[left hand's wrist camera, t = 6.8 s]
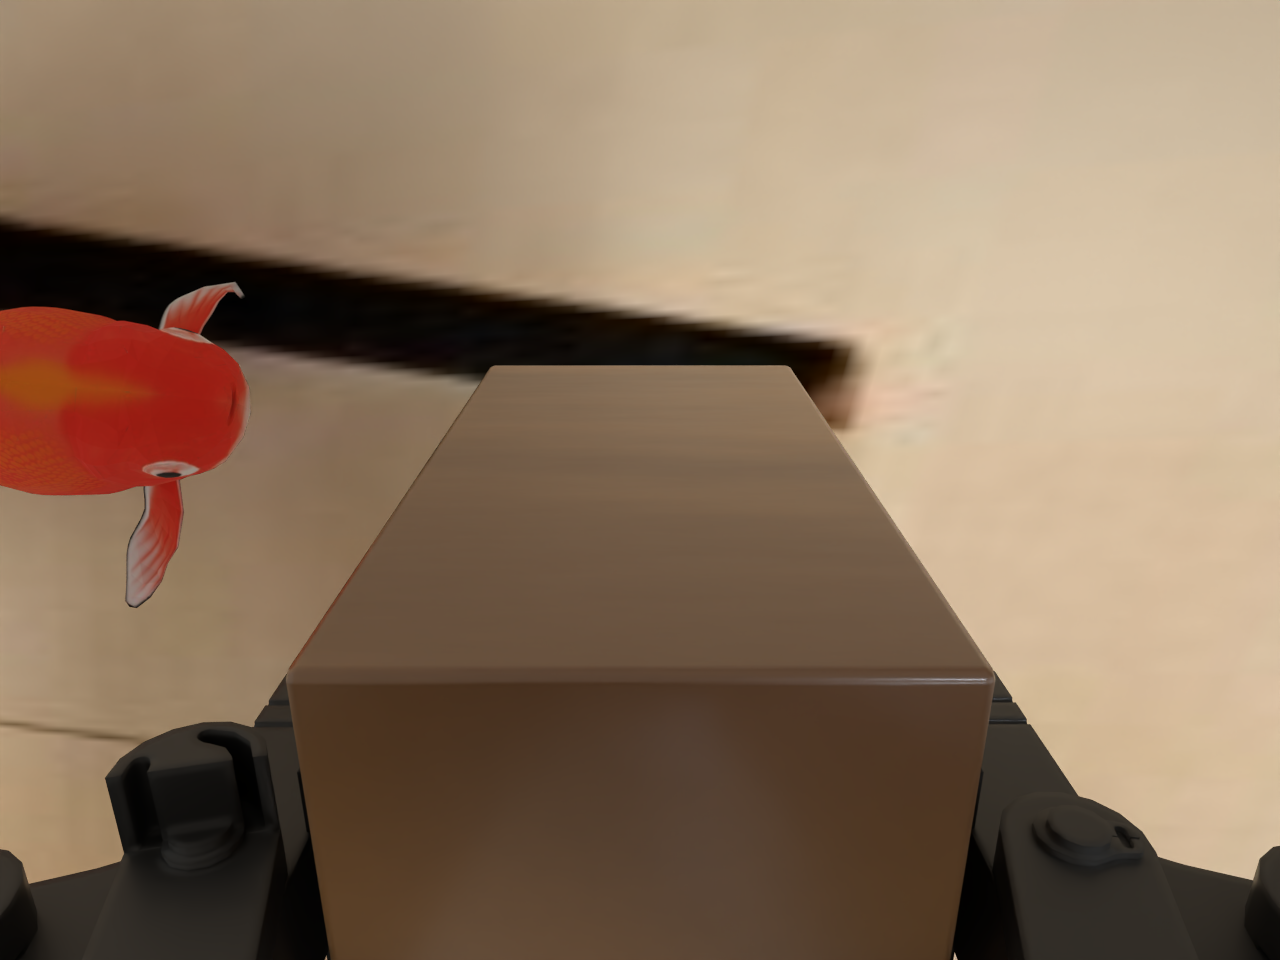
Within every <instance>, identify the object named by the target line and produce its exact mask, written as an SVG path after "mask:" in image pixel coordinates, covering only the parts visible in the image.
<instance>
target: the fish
mask: <svg viewBox="0 0 1280 960" xmlns="http://www.w3.org/2000/svg"><path fill="white" fill-rule="evenodd" d="M227 292H235V293H236V294H237V295H238V296H239V297H240V298H241V299H242V298H245V296H244V294H243V292H242V291H241V289H240V288H239V286H238V285H237V283H236V282H232V283H225V284H219V285H213V286H206V287H203V288H200V289H198V290H196V291H193V292H191V293H188V294H186V295H184V296H181V297H179V298H178V299H176V300H174V301H173V302H171V303H170V304H169V305H168V306H167V307H166V309H165V310H164V312H163V315H162V318H161V320H160V324H159V328H158V329H155V328H153V327H150V326H148V325H143V324H138V323H133V322H128V321H115V320H113V319H111V318H107V317H104V316H101V315H95V314H90V313H84V312H79V311H73V310H68V309H61V308H53V307H21V308H15V309H9V310H3V311H0V485H1V486H5V487H9V488H13V489H16V490H20V491H24V492H28V493H32V494H40V495H94V494H110V493H115V492H120V491H123V490H126V489H129V488H133V487H136V486H144V498H145V509H144V512H143V515H142V517H141V519H140V521H139V523H138V525H137V527H136V528H135V530H134V532H133V534H132V536H131V537H130V541H129V544H128V549H127V581H126V600H125V601H126V603H127V604H128V605H129V607H134V608H138V607H139V606H140V605H141V604H143V603H144V602H145V601H146V600H148V599H149V598H150V597H151V596H152V594H153V593H154V591H155V590H156V589H157V587H158V586H159V584H160V583H161V581H162V579H163V576H164V573H165V570H166V567H167V564H168V562H169V561H170V559H171V557H172V556H173V554H174V553H175V551H176V550H177V548H178V545H179V538H180V532H181V526H182V520H183V514H184V511H183V502H182V494H181V487H180V479H183V478H185V477H188V476H191V475H195V474H200V473H203V472H206V471H208V470H211V469H214V468H215V467H217V466H219V465H220V464H222V463H224V462H225V461H226V460H227V459H228V457H229V456H230V455H231V453H232V452H233V451H234V449H235V448H236V447H237V445H238V444H239V442H240V441H241V440H242V438H243V437H244V434H245V431H246V427H247V424H248V421H249V417H250V414H251V409H250V391H249V386H248V384H247V381H246V379H245V377H244V375H243V373H242V371H241V369H240V367H239V364H238V363H237V362H236V361H235V360H234V359H233V358H232V357H231V356H230V355H229V354H228V353H227V352H226V351H225V350H224V349H222V348H220V347H218V346H217V345H215V344H213V343H211V342H210V341H208V340H207V339H205V338H204V337H202V336H201V335H200V334H201V332H202V329H203V327H204V325H205V324H206V322H207V321H208V319H209V318H210V316H211V315H212V313H213V311H214V310H215V308H216V306H217V304H218V302H219V301H220V300H221V299H222V298H223V297H224V296H225V294H226V293H227Z"/></svg>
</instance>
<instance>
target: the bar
mask: <svg viewBox="0 0 1280 960" xmlns="http://www.w3.org/2000/svg"><path fill="white" fill-rule="evenodd" d="M286 684H287V690H288V697H289V703H290V709H291V715H292V722H293V728H294V734H295V740H296V747H297V753H298V759H299V765H300V771H301V778H302V784H303V790H304V796H305V803H306V809H307V815H308V821H309V827H310V834H311V840H312V846H313V852H314V859H315V865H316V871H317V877H318V884H319V890H320V896H321V902H322V908H323V915H324V921H325V927H326V933H327V940H328V946H329V952H330V958H331V960H950V959H951V952H952V946H953V940H954V934H955V928H956V921H957V915H958V909H959V903H960V897H961V890H962V884H963V878H964V872H965V866H966V859H967V853H968V847H969V841H970V835H971V828H972V822H973V816H974V810H975V804H976V798H977V791H978V785H979V779H980V773H981V767H982V760H983V754H984V748H985V742H986V736H987V729H988V723H989V717H990V711H991V705H992V698H993V692H994V686H995V675H994V672H993V669H992V667H991V666H990V664H989V663H988V661H987V660H986V658H985V657H984V655H983V654H982V652H981V651H980V649H979V648H978V646H977V645H976V644H975V642H974V641H973V639H972V638H971V636H970V635H969V633H968V632H967V630H966V629H965V627H964V626H963V624H962V623H961V621H960V620H959V618H958V617H957V615H956V614H955V612H954V611H953V609H952V608H951V606H950V605H949V603H948V602H947V600H946V599H945V597H944V596H943V594H942V593H941V591H940V590H939V588H938V587H937V585H936V584H935V583H934V581H933V580H932V578H931V577H930V575H929V574H928V572H927V571H926V569H925V568H924V566H923V565H922V563H921V562H920V560H919V559H918V557H917V556H916V554H915V553H914V551H913V550H912V548H911V547H910V545H909V544H908V542H907V541H906V539H905V538H904V536H903V535H902V533H901V532H900V530H899V529H898V527H897V526H896V525H895V523H894V522H893V520H892V519H891V517H890V516H889V514H888V513H887V511H886V510H885V508H884V507H883V505H882V504H881V502H880V501H879V499H878V498H877V496H876V495H875V493H874V492H873V490H872V489H871V487H870V486H869V484H868V483H867V481H866V480H865V478H864V477H863V475H862V474H861V472H860V471H859V469H858V468H857V466H856V465H855V464H854V462H853V461H852V459H851V458H850V456H849V455H848V453H847V452H846V450H845V449H844V447H843V446H842V444H841V443H840V441H839V440H838V438H837V437H836V435H835V434H834V432H833V431H832V429H831V428H830V426H829V425H828V423H827V422H826V420H825V419H824V417H823V416H822V414H821V413H820V411H819V410H818V408H817V407H816V405H815V404H814V403H813V401H812V400H811V398H810V397H809V395H808V394H807V392H806V391H805V389H804V388H803V386H802V385H801V383H800V382H799V380H798V379H797V377H796V376H795V374H794V373H793V371H792V370H791V368H790V367H788V366H493V367H491V368H490V369H489V370H488V372H487V373H486V375H485V376H484V378H483V379H482V381H481V382H480V384H479V385H478V387H477V388H476V390H475V391H474V393H473V394H472V396H471V397H470V399H469V400H468V402H467V403H466V405H465V406H464V408H463V409H462V411H461V412H460V414H459V415H458V417H457V418H456V420H455V421H454V423H453V424H452V426H451V427H450V429H449V430H448V432H447V433H446V435H445V436H444V438H443V439H442V441H441V442H440V444H439V445H438V447H437V448H436V450H435V451H434V453H433V454H432V456H431V457H430V459H429V460H428V462H427V463H426V465H425V466H424V468H423V469H422V471H421V472H420V474H419V475H418V477H417V478H416V480H415V481H414V482H413V484H412V485H411V487H410V488H409V490H408V491H407V493H406V494H405V496H404V497H403V499H402V500H401V502H400V503H399V505H398V506H397V508H396V509H395V511H394V512H393V514H392V515H391V517H390V518H389V520H388V521H387V523H386V524H385V526H384V527H383V529H382V530H381V532H380V533H379V535H378V536H377V538H376V539H375V541H374V542H373V544H372V545H371V547H370V548H369V550H368V551H367V553H366V554H365V556H364V557H363V559H362V560H361V562H360V563H359V565H358V566H357V568H356V569H355V571H354V572H353V574H352V575H351V577H350V578H349V580H348V581H347V583H346V584H345V586H344V587H343V589H342V590H341V592H340V593H339V594H338V596H337V597H336V599H335V600H334V602H333V603H332V605H331V606H330V608H329V609H328V611H327V612H326V614H325V615H324V617H323V618H322V620H321V621H320V623H319V624H318V626H317V627H316V629H315V630H314V632H313V633H312V635H311V636H310V638H309V639H308V641H307V642H306V644H305V645H304V647H303V648H302V650H301V651H300V653H299V654H298V656H297V657H296V659H295V660H294V662H293V663H292V665H291V666H290V668H289V670H288V673H287V676H286Z"/></svg>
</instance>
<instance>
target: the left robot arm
mask: <svg viewBox="0 0 1280 960" xmlns="http://www.w3.org/2000/svg"><path fill="white" fill-rule="evenodd" d="M993 672H994V675H995V686H994V692H993V698H992V705H991V711H990V717H989V723H988V729H987V736H986V742H985V748H984V754H983V760H982V767H981V773H980V779H979V785H978V791H977V798H976V804H975V810H974V816H973V822H972V828H971V835H970V841H969V847H968V853H967V859H966V866H965V872H964V878H963V884H962V890H961V897H960V903H959V909H958V915H957V921H956V928H955V934H954V940H953V946H952V952H951V959H950V960H953V958H954V952H955V954H956V957H957V959H958V960H1280V846H1276V847H1273V848H1272V849H1270V850H1269V851H1268V852H1267V853H1266V854H1265V855H1264V856H1262V857H1261V858H1260V860H1259V863H1258V866H1257V870H1256V873H1255V876H1254V880H1249V879H1244V878H1240V877H1235V876H1231V875H1227V874H1222V873H1218V872H1213V871H1209V870H1205V869H1200V868H1196V867H1191V866H1187V865H1183V864H1180V863H1176V862H1173V861H1170V860H1166V859H1163V858H1160V857H1158V856H1157V854H1156V852H1155V850H1154V849H1153V847H1152V846H1151V844H1150V843H1149V841H1148V840H1147V838H1146V837H1145V835H1144V834H1143V832H1142V831H1141V830H1139V829H1138V828H1137V827H1136V826H1134V825H1133V824H1132V823H1131V822H1129V821H1128V820H1127V819H1126V818H1124V817H1123V816H1122V815H1121V814H1119V813H1117V812H1115V811H1113V810H1111V809H1109V808H1107V807H1105V806H1103V805H1101V804H1099V803H1097V802H1095V801H1093V800H1090V799H1086V798H1083V797H1079V796H1078V795H1077V793H1076V792H1075V790H1074V789H1073V787H1072V786H1071V784H1070V783H1069V781H1068V780H1067V778H1066V777H1065V775H1064V774H1063V772H1062V771H1061V769H1060V768H1059V766H1058V765H1057V763H1056V762H1055V760H1054V759H1053V758H1052V756H1051V755H1050V753H1049V752H1048V750H1047V749H1046V747H1045V746H1044V744H1043V743H1042V741H1041V740H1040V738H1039V737H1038V735H1037V734H1036V732H1035V731H1034V729H1033V728H1032V726H1031V725H1030V724H1027V722H1026V720H1027V719H1026V717H1025V716H1024V714H1023V713H1022V711H1021V710H1020V708H1019V707H1018V705H1017V704H1016V703H1013V702H1012V696H1011V695H1010V693H1009V692H1008V690H1007V689H1006V688H1005V686H1004V685H1003V683H1002V682H1001V680H1000V679H999V677H998V676H997V674H996V673H995V671H993ZM286 676H287V674H286ZM286 676H285V677H284V679H283V680H282V682H281V683H280V685H279V686H278V688H277V689H276V691H275V692H274V694H273V695H272V697H271V698H270V700H269V705H268V706H265V707H264V709H263V710H262V712H261V713H260V715H259V716H258V718H257V719H256V721H255V726H254V727H249V726H245V725H241V724H237V723H233V722H203V723H199V724H194V725H190V726H186V727H181V728H177V729H173V730H170V731H168V732H166V733H164V734H161V735H159V736H157V737H154V738H152V739H150V740H147V741H145V742H143V743H142V744H140V745H139V746H138V747H136V748H135V749H133V750H132V751H130V752H129V753H128V754H126V755H125V756H123V757H122V758H121V759H119V761H118V762H117V763H116V765H115V766H114V767H113V768H112V770H111V771H110V772H109V774H108V775H107V776H106V777H105V780H106V783H107V787H108V791H109V795H110V799H111V803H112V807H113V811H114V815H115V819H116V823H117V827H118V831H119V835H120V839H121V843H122V846H123V850H124V855H123V858H122V860H121V861H120V862H117V863H114V864H110V865H107V866H104V867H100V868H97V869H93V870H88V871H84V872H79V873H75V874H71V875H66V876H62V877H58V878H53V879H49V880H44V881H40V882H36V883H31V884H28V880H27V877H26V874H25V870H24V867H23V864H22V862H21V861H20V860H19V859H17V858H16V857H15V856H14V855H13V854H12V853H11V852H10V851H7V850H1V849H0V960H325V957H326V955H327V960H331V958H330V952H329V946H328V940H327V933H326V927H325V921H324V915H323V908H322V902H321V896H320V890H319V884H318V877H317V871H316V865H315V859H314V852H313V846H312V840H311V834H310V827H309V821H308V815H307V809H306V803H305V796H304V790H303V784H302V778H301V771H300V765H299V759H298V753H297V747H296V740H295V734H294V728H293V722H292V715H291V709H290V703H289V697H288V690H287V684H286Z"/></svg>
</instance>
